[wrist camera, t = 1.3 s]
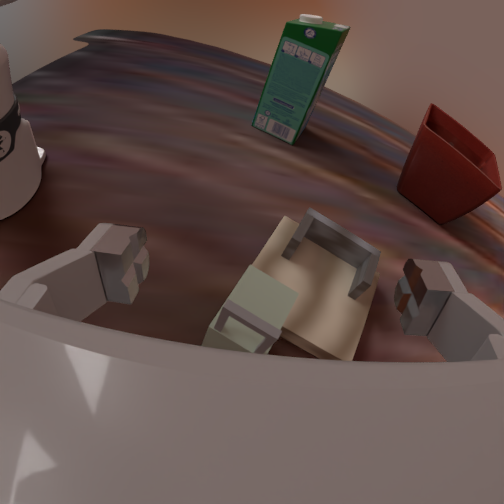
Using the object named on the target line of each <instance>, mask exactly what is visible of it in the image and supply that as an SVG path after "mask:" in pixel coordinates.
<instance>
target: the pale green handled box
mask: <svg viewBox="0 0 504 504" xmlns="http://www.w3.org/2000/svg"><path fill="white" fill-rule="evenodd" d="M298 295H299V293H297V292H296V291H294V290H292V289H291V288H289V287H287V286H285V285H284V284H282V283H280V282H279V281H277V280H275V279H274V278H272V277H270V276H269V275H267V274H265V273H264V272H262V271H260V270H259V269H257V268H255V267H254V266H252V265H250V266H249V267H248V269H247V270H246V272H245V273H244V275H243V276H242V278H241V279H240V280H239V282H238V283H237V285H236V286H235V288H234V289H233V291H232V292H231V294H230V295H229V297H228V298H227V300H226V301H225V303H224V304H223V306H222V307H221V309H220V310H219V312H218V313H217V315H216V316H215V318H214V319H213V321H212V322H211V324H210V325H209V327H208V330H207V332H206V335H205V337H204V340H203V343H202V345H201V346H204V347H211V348H218V349H225V350H233V351H240V352H249V353H257V354H266V355H267V354H268V352H269V350H270V348H271V346H272V345H273V343H275V342H276V341H277V340H278V338H279V336H280V334H281V332H282V331H281V328H282V326H283V324H284V322H285V320H286V318H287V316H288V314H289V312H290V310H291V308H292V306H293V305H294V303H295V301H296V299H297V297H298Z"/></svg>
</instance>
